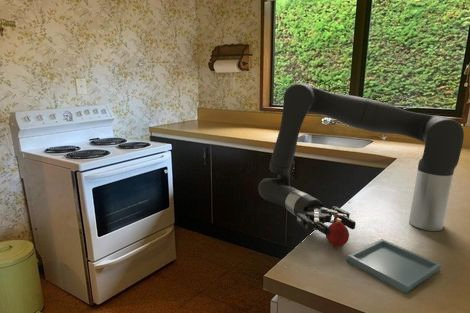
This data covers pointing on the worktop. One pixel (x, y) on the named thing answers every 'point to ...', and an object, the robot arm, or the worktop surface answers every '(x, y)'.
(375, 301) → the worktop surface
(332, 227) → the onion
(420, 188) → the robot arm
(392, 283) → the dish
